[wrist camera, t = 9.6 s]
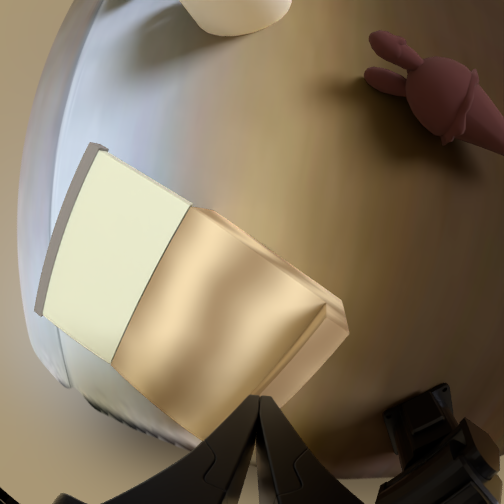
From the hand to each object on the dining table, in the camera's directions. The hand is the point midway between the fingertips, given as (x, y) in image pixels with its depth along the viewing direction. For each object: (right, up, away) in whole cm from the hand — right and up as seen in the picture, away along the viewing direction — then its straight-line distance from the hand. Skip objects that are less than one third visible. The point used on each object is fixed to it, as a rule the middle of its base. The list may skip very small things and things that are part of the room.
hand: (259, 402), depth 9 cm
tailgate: (-9, +2, +10) cm, 14 cm away
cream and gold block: (-3, -1, +13) cm, 13 cm away
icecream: (+15, +17, +7) cm, 24 cm away
